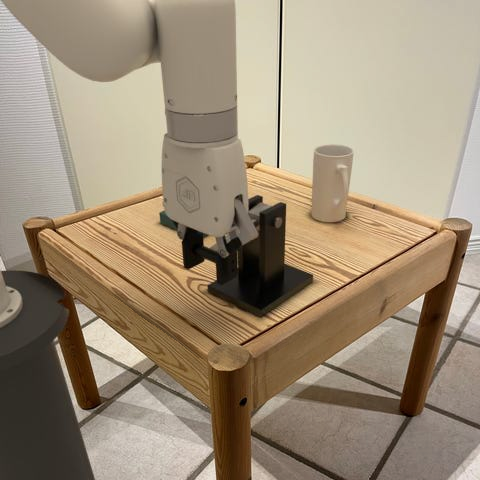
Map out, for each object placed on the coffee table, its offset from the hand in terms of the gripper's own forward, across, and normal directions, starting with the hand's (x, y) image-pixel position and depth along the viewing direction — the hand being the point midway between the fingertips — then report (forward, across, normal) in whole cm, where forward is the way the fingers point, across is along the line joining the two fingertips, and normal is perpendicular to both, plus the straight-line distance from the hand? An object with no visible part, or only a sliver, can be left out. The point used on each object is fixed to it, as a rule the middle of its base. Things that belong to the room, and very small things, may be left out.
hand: (210, 271), depth 65 cm
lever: (-2, 0, +6) cm, 6 cm away
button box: (+7, -23, +21) cm, 32 cm away
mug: (+7, -5, +36) cm, 37 cm away
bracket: (+7, 0, +10) cm, 12 cm away
